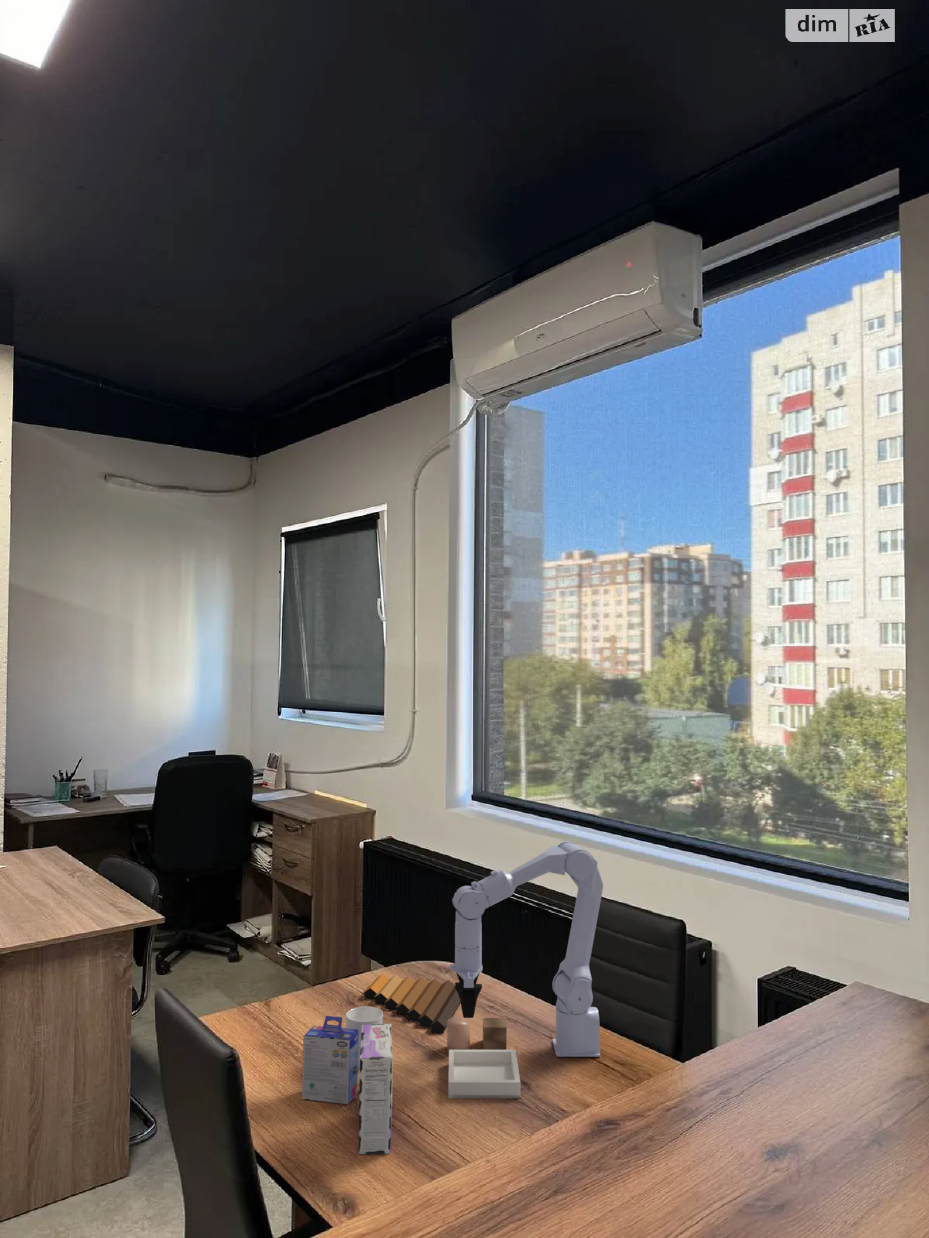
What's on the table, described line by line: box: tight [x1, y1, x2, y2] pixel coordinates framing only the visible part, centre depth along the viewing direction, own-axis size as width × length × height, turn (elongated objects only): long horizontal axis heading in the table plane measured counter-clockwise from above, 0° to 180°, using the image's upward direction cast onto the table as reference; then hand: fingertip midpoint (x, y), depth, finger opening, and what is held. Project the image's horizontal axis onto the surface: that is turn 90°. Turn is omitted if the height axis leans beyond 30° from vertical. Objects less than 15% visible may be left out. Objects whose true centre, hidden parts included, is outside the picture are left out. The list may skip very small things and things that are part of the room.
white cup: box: [345, 1006, 384, 1070], centre depth 179 cm, size 8×8×10 cm
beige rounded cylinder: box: [446, 1016, 471, 1053], centre depth 185 cm, size 5×5×6 cm
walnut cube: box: [482, 1017, 508, 1050], centre depth 187 cm, size 5×5×5 cm
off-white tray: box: [447, 1049, 521, 1099], centre depth 171 cm, size 14×14×3 cm
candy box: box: [357, 1023, 393, 1155], centre depth 152 cm, size 14×6×16 cm, turn 5°
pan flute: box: [363, 973, 461, 1035], centre depth 207 cm, size 25×3×25 cm
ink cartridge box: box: [301, 1015, 359, 1105], centre depth 165 cm, size 10×6×14 cm, turn 78°
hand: (468, 1009), depth 180 cm, fingers open, 7 cm apart
